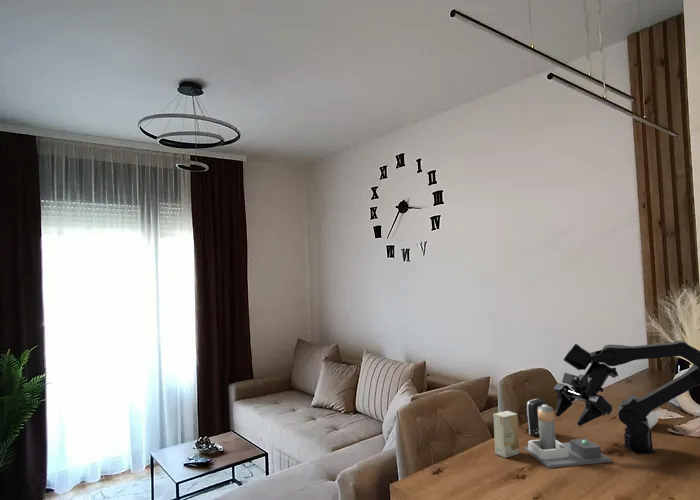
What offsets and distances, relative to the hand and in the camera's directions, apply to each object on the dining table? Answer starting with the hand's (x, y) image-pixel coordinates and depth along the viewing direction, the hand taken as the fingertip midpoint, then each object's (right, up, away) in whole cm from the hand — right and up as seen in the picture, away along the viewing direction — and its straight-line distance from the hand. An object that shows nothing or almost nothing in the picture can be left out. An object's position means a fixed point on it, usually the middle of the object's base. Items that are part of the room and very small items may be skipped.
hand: (567, 420), depth 142 cm
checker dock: (-2, -9, -3) cm, 10 cm away
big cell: (-7, -9, -2) cm, 11 cm away
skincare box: (-18, -11, 0) cm, 21 cm away
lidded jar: (+34, -9, +18) cm, 40 cm away
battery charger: (-3, -11, +15) cm, 18 cm away
